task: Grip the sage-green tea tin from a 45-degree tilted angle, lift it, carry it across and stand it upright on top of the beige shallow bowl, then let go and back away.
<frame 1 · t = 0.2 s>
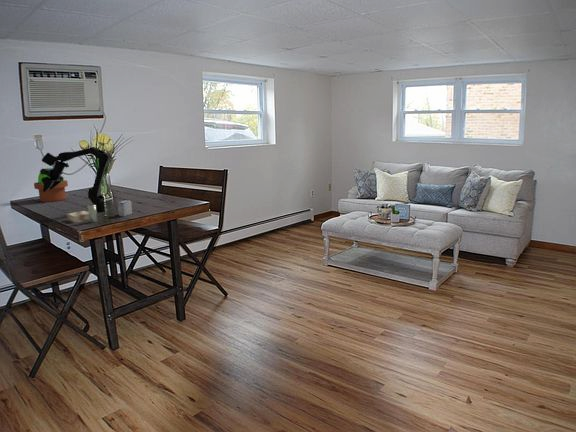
hand: (47, 190, 282), 15 cm above the table, tool tilted 35°, fingers open, 9 cm apart
medicine box: (125, 215, 275), on the table
potted cactus: (53, 200, 332), on the table
beige shallow bowl: (80, 219, 264), on the table
tea tin: (93, 221, 258), on the table
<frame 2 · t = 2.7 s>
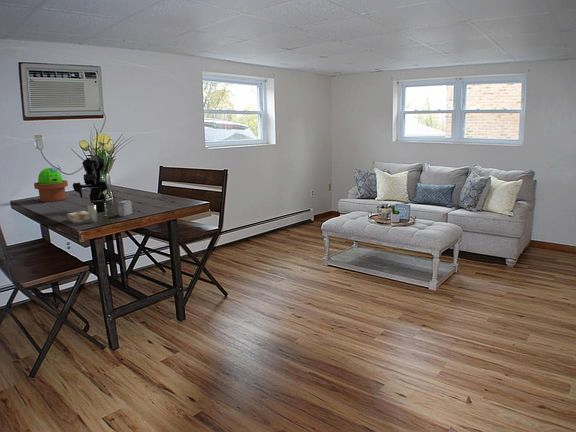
hand: (90, 197, 260), 14 cm above the table, tool tilted 45°, fingers open, 9 cm apart
nothing on the table moved.
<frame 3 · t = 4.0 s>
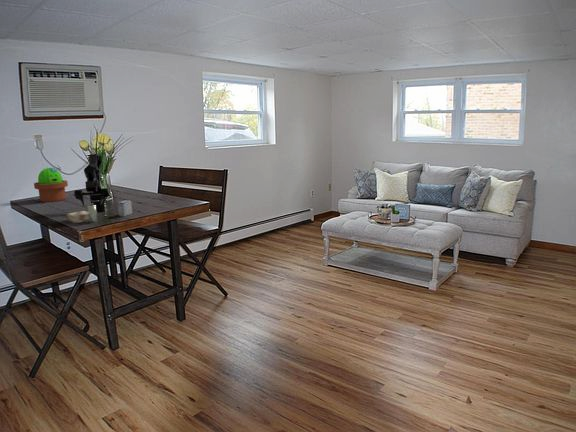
hand: (92, 205, 258), 10 cm above the table, tool tilted 45°, fingers open, 9 cm apart
nothing on the table moved.
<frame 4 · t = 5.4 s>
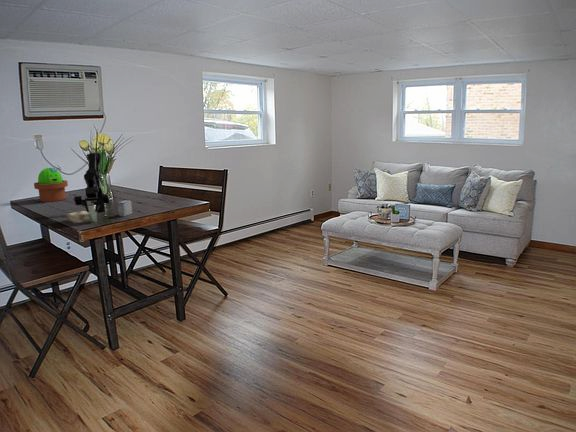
hand: (92, 211, 256), 7 cm above the table, tool tilted 45°, fingers closed on tea tin, 4 cm apart
tea tin: (93, 221, 258), on the table, touching gripper
everything else where it was.
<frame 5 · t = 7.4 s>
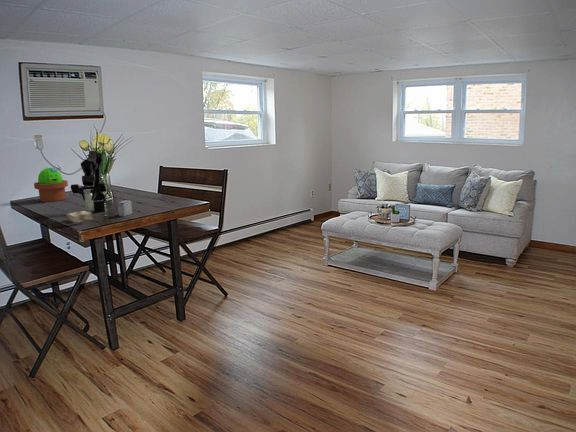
hand: (88, 199, 255), 13 cm above the table, tool tilted 45°, fingers closed on tea tin, 4 cm apart
tea tin: (90, 210, 257), point 7 cm above the table, touching gripper
everything else where it was.
when the fingers open (12 cm above the table, at t = 9.4 s): tea tin drops 1 cm, resting on beige shallow bowl.
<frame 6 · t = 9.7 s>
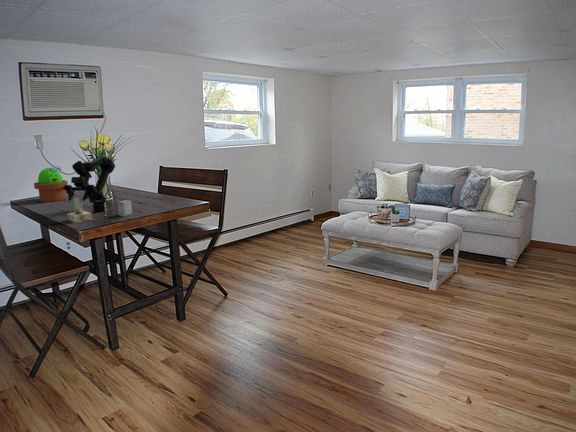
hand: (76, 200, 260), 12 cm above the table, tool tilted 45°, fingers open, 8 cm apart
tea tin: (79, 213, 264), point 4 cm above the table, touching beige shallow bowl
everything else where it was.
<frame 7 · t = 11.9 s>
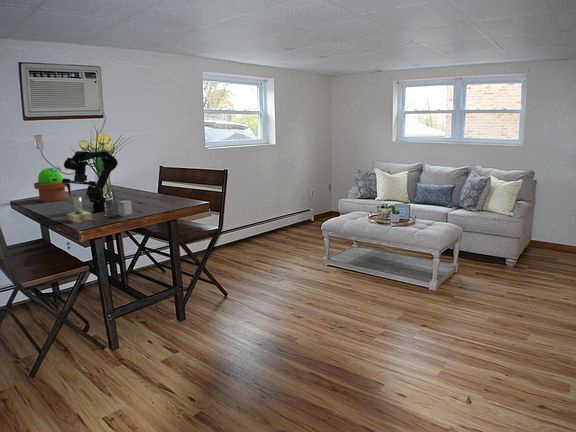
hand: (78, 196, 270), 13 cm above the table, tool tilted 15°, fingers open, 9 cm apart
nothing on the table moved.
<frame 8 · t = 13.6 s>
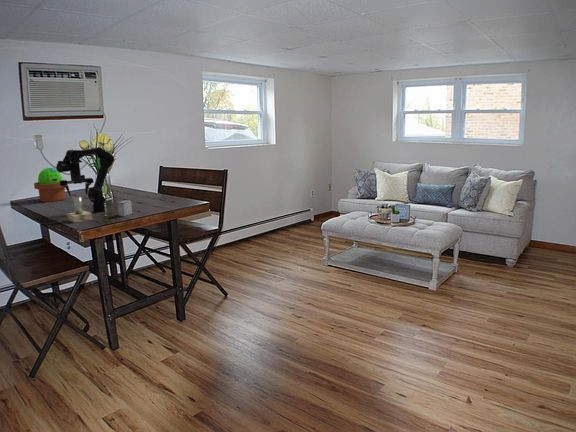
hand: (78, 195, 272), 13 cm above the table, tool pointing down, fingers open, 9 cm apart
nothing on the table moved.
at the end: tea tin inside the target area on the beige shallow bowl (0.1 cm from its centre), point 4.0 cm above the beige shallow bowl's base; tea tin tilted 0°; the gripper is holding nothing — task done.
